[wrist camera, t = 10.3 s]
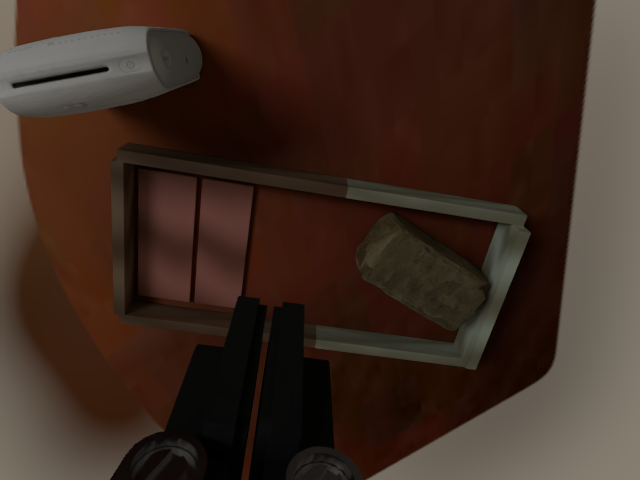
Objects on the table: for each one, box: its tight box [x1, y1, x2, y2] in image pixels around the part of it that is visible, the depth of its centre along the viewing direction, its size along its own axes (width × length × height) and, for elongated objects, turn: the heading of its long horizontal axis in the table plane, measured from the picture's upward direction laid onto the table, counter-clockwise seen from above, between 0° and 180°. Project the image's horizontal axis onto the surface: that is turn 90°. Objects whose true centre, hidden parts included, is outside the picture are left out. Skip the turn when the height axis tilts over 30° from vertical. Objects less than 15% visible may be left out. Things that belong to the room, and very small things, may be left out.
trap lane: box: [111, 143, 531, 370], centre depth 41 cm, size 17×36×4 cm, turn 80°
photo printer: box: [0, 26, 202, 118], centre depth 30 cm, size 10×4×12 cm, turn 99°
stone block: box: [355, 212, 489, 331], centre depth 41 cm, size 6×12×5 cm, turn 57°
